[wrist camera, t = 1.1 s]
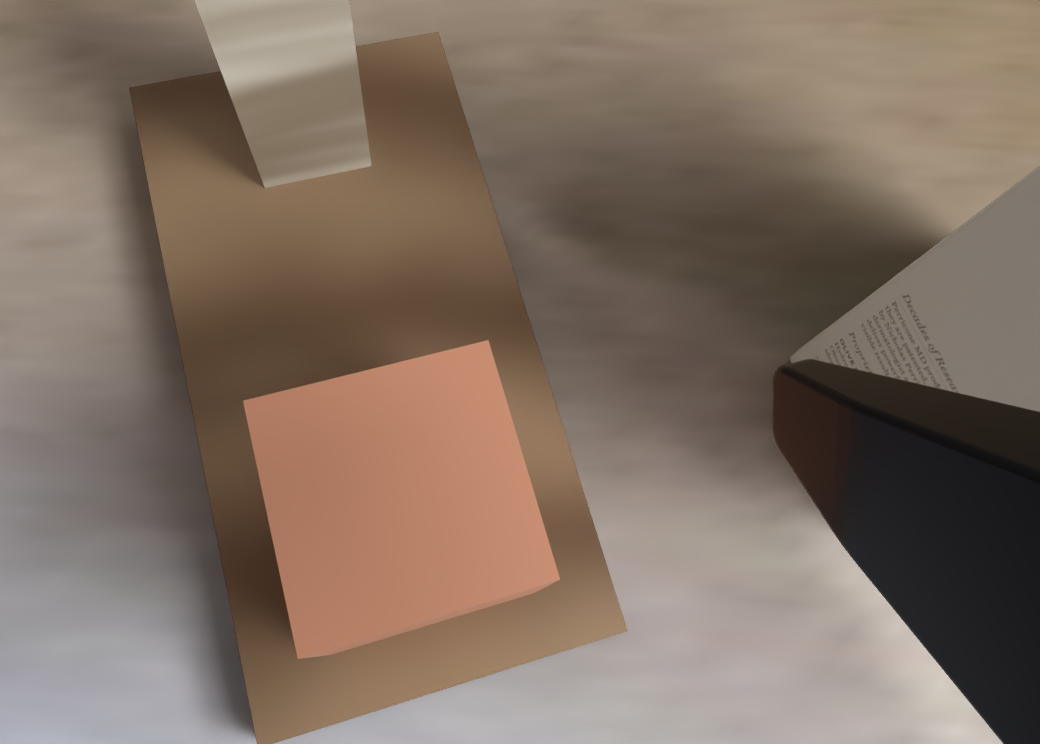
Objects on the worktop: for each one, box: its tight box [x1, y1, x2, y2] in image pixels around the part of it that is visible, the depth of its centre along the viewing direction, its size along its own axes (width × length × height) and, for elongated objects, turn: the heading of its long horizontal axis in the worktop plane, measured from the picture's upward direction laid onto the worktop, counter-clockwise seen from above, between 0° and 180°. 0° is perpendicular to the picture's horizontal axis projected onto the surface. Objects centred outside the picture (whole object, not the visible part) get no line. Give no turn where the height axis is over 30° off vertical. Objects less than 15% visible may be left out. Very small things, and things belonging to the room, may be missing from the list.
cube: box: [243, 340, 560, 659], centre depth 19 cm, size 5×5×5 cm
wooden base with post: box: [129, 0, 627, 744], centre depth 19 cm, size 18×9×10 cm, turn 16°
